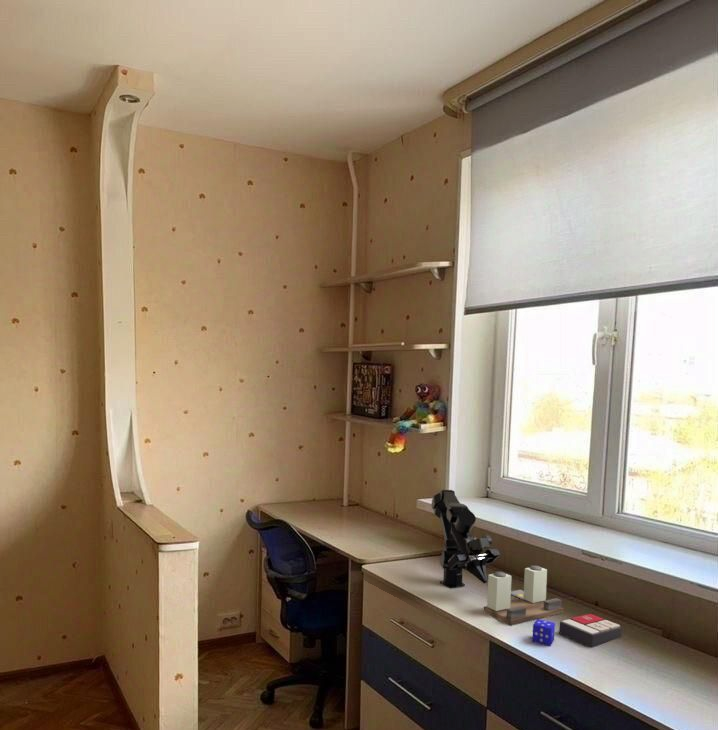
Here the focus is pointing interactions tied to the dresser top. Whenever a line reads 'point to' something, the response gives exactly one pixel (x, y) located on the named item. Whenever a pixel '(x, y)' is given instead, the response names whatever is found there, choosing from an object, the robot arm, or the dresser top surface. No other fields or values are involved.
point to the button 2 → (535, 584)
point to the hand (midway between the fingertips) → (485, 582)
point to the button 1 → (499, 591)
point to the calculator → (590, 630)
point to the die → (543, 632)
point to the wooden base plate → (526, 611)
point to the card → (518, 593)
